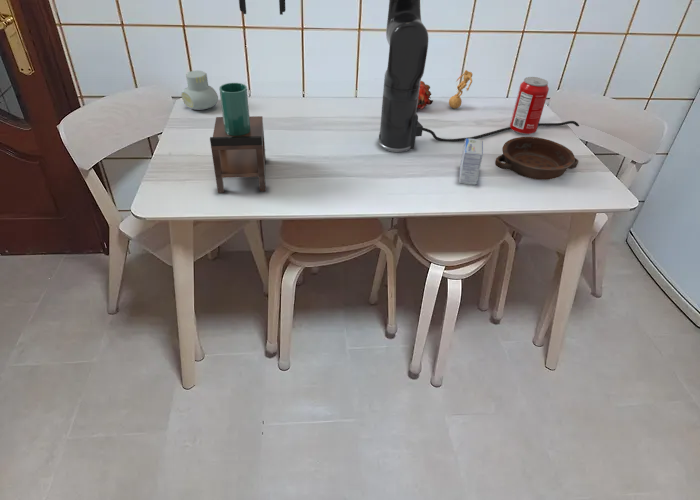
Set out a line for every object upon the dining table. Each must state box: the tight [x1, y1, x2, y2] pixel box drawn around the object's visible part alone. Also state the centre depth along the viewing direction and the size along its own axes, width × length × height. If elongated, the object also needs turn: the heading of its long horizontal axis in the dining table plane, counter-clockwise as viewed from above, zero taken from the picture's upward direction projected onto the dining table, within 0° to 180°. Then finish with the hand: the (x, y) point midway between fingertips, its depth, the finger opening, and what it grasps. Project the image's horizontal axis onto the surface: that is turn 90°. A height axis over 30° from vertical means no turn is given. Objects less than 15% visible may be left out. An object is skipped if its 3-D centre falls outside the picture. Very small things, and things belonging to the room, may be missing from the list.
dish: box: [494, 136, 579, 181], centre depth 130 cm, size 18×22×5 cm
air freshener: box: [181, 70, 219, 111], centre depth 150 cm, size 11×8×10 cm
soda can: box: [509, 76, 550, 136], centre depth 144 cm, size 8×8×15 cm
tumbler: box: [218, 82, 251, 136], centre depth 112 cm, size 6×6×10 cm
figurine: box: [448, 69, 473, 110], centre depth 156 cm, size 8×6×12 cm
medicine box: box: [458, 137, 484, 186], centre depth 124 cm, size 8×4×9 cm, turn 168°
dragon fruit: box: [417, 80, 434, 110], centre depth 157 cm, size 8×8×12 cm
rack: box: [209, 115, 267, 194], centre depth 118 cm, size 11×15×14 cm
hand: (263, 13), depth 119 cm, fingers open, 8 cm apart
